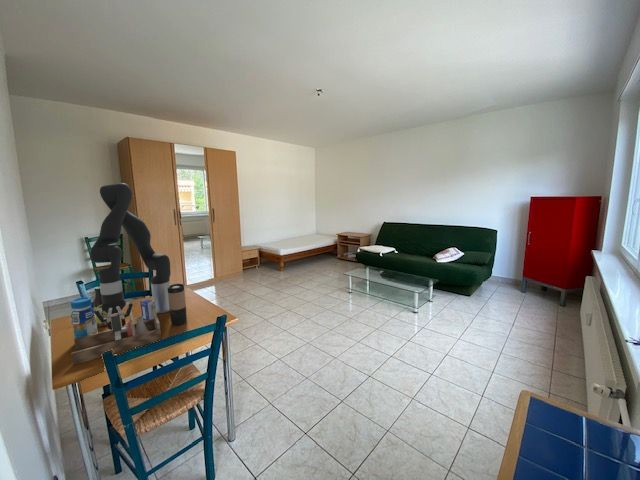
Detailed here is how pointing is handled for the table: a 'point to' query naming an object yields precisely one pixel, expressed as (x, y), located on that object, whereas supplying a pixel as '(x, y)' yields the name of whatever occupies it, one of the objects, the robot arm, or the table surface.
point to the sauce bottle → (98, 305)
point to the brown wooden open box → (115, 345)
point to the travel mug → (177, 304)
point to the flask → (140, 326)
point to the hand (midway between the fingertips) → (117, 327)
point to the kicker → (117, 326)
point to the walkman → (148, 309)
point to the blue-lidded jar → (83, 317)
